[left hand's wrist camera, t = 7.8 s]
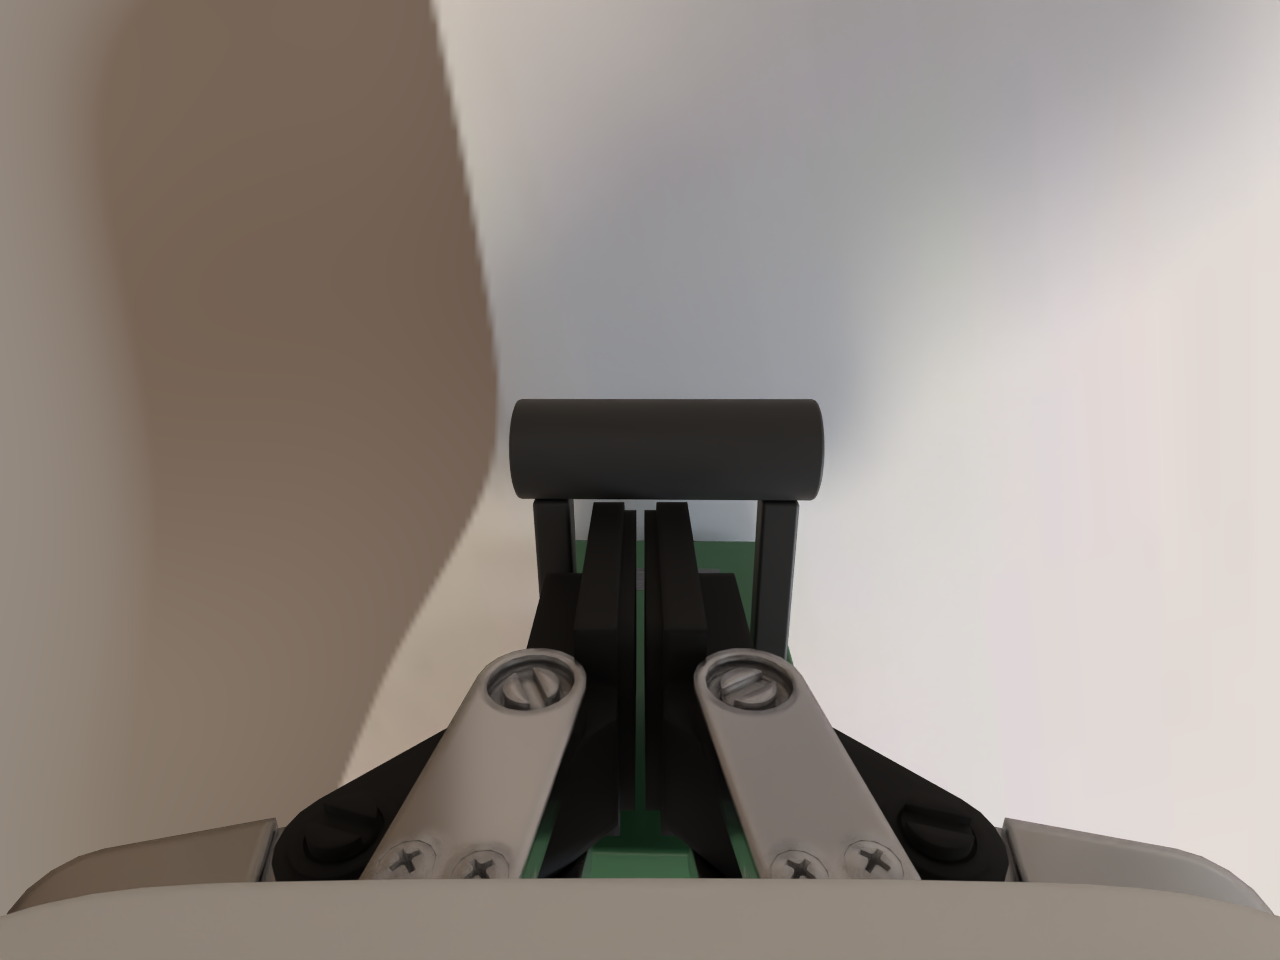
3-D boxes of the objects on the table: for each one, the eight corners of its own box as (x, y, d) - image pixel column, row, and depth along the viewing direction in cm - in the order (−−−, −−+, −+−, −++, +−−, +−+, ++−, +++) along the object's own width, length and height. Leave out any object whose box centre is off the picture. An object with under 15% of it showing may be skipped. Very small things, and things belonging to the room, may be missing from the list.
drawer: (560, 333, 17) (435, 482, 8) (772, 333, 16) (901, 484, 7) (591, 954, 25) (549, 1380, 16) (733, 958, 24) (773, 1392, 16)
